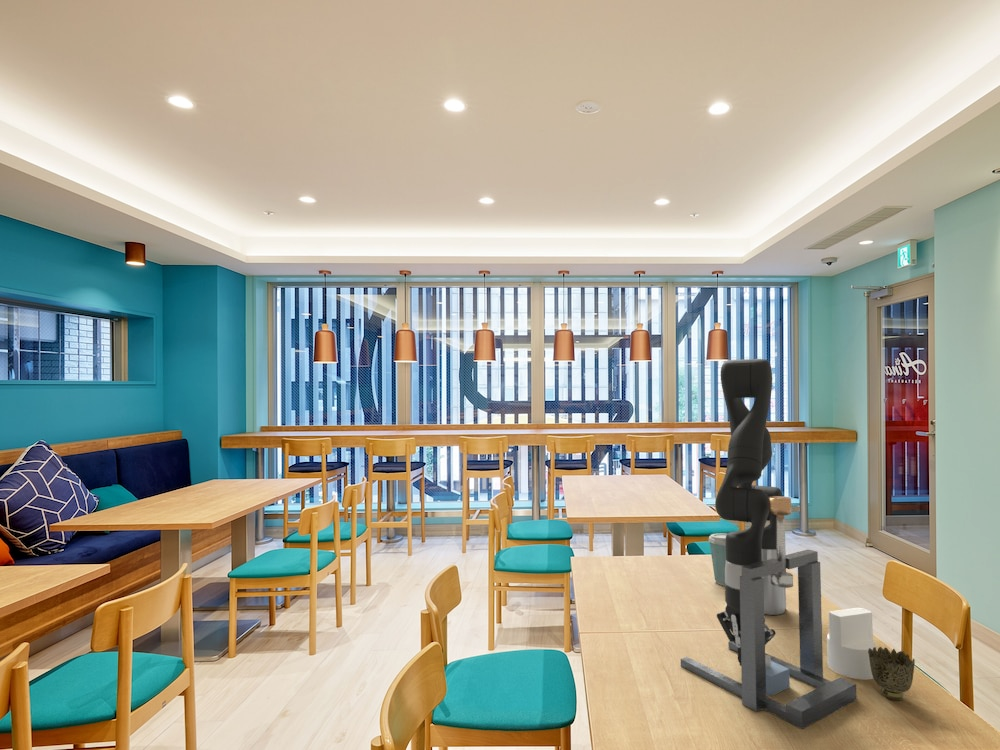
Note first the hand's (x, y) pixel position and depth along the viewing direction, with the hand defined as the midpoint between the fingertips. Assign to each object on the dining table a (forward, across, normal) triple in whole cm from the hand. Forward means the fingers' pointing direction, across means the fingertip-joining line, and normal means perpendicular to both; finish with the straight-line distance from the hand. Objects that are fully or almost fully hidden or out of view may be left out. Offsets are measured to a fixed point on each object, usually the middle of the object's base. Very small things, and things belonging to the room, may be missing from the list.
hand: (745, 666), depth 118 cm
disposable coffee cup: (+2, +39, -45) cm, 59 cm away
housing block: (+2, -5, 0) cm, 5 cm away
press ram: (-19, -8, 0) cm, 21 cm away
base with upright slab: (+2, -10, -21) cm, 24 cm away
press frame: (+2, -4, 0) cm, 4 cm away
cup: (+2, -20, -16) cm, 26 cm away
